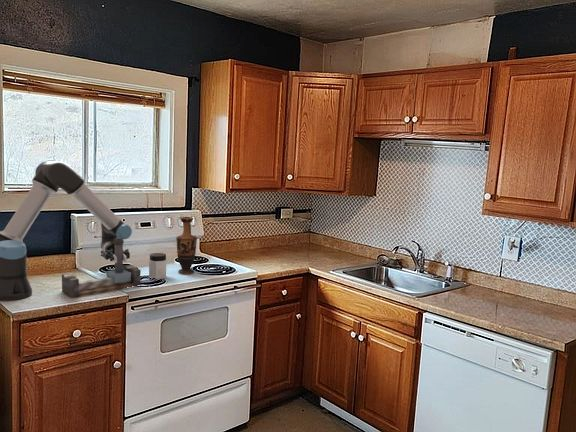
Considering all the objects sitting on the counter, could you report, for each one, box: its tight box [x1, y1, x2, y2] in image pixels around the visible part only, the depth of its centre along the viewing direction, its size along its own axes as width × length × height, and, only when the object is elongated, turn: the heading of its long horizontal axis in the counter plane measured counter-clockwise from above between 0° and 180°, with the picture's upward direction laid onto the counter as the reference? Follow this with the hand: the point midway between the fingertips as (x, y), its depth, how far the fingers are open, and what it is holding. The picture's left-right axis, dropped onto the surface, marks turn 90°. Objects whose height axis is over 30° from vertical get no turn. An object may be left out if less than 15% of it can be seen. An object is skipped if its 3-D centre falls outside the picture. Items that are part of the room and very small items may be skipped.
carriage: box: [106, 237, 131, 283], centre depth 231 cm, size 8×9×21 cm
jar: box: [148, 252, 167, 280], centre depth 250 cm, size 9×8×12 cm
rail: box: [61, 264, 141, 299], centre depth 227 cm, size 34×12×9 cm, turn 134°
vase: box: [176, 216, 198, 275], centre depth 261 cm, size 11×11×30 cm
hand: (120, 259), depth 226 cm, fingers closed on carriage, 4 cm apart
